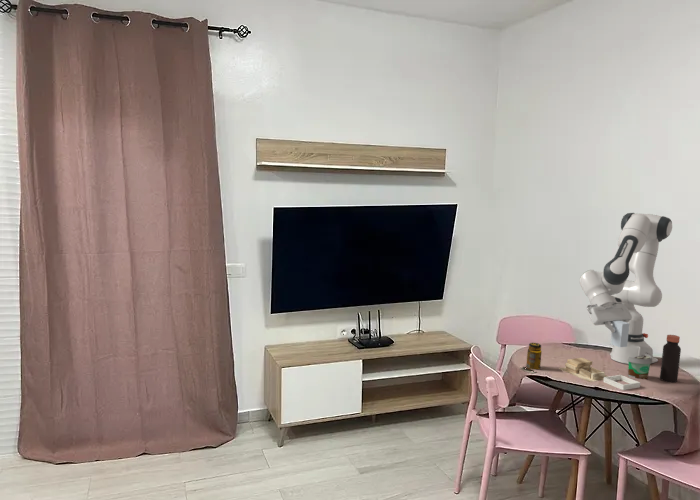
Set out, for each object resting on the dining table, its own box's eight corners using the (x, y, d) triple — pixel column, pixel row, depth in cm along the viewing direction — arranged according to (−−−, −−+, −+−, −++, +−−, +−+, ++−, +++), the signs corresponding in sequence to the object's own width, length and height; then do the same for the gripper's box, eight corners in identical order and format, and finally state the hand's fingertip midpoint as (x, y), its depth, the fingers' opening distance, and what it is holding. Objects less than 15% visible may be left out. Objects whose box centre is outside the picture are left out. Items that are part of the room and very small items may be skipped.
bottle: (679, 381, 255) (685, 336, 252) (672, 383, 251) (677, 339, 248) (664, 376, 260) (668, 333, 258) (656, 379, 256) (661, 335, 254)
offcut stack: (581, 367, 266) (582, 357, 265) (591, 371, 260) (592, 361, 260) (564, 369, 262) (565, 359, 261) (574, 373, 256) (575, 363, 256)
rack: (580, 367, 269) (581, 360, 268) (612, 380, 252) (613, 372, 252) (558, 370, 263) (558, 363, 262) (589, 384, 247) (589, 376, 246)
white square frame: (619, 381, 251) (620, 374, 251) (639, 389, 242) (640, 382, 242) (603, 384, 247) (603, 377, 247) (622, 392, 238) (623, 385, 238)
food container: (638, 383, 250) (640, 360, 249) (625, 378, 255) (628, 356, 254) (656, 379, 256) (659, 357, 254) (643, 375, 261) (646, 353, 260)
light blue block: (617, 343, 248) (619, 320, 246) (627, 346, 243) (629, 323, 242) (610, 344, 246) (612, 321, 245) (620, 347, 241) (622, 324, 240)
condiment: (544, 370, 262) (546, 345, 261) (531, 373, 257) (533, 347, 256) (531, 366, 268) (533, 340, 267) (518, 368, 263) (520, 343, 262)
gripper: (589, 301, 245) (606, 329, 238) (624, 298, 253) (641, 326, 246) (580, 309, 250) (596, 337, 242) (615, 306, 258) (631, 333, 250)
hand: (619, 331), depth 244 cm, fingers closed on light blue block, 4 cm apart
